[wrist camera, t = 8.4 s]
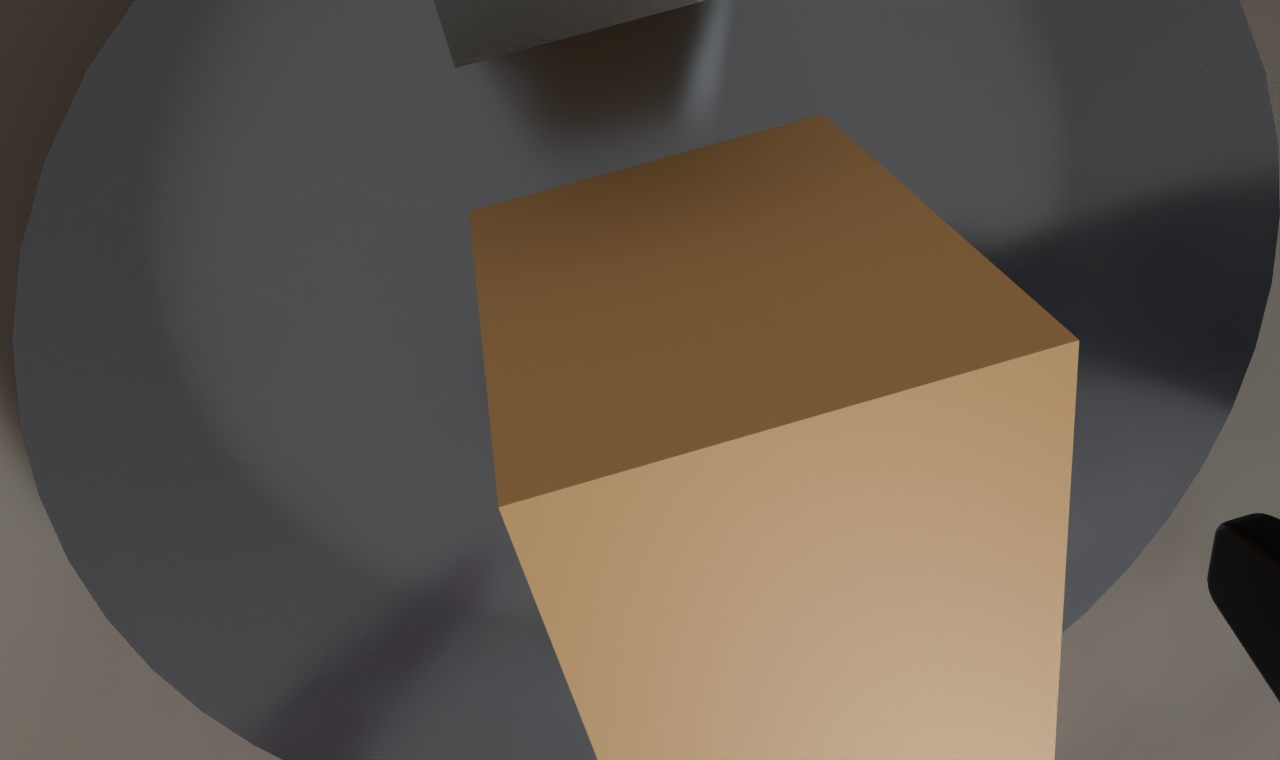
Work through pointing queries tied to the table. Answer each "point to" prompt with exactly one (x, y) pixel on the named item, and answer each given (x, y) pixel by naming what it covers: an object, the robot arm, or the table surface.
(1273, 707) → the table surface
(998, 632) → the tan and grey block
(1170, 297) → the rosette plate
